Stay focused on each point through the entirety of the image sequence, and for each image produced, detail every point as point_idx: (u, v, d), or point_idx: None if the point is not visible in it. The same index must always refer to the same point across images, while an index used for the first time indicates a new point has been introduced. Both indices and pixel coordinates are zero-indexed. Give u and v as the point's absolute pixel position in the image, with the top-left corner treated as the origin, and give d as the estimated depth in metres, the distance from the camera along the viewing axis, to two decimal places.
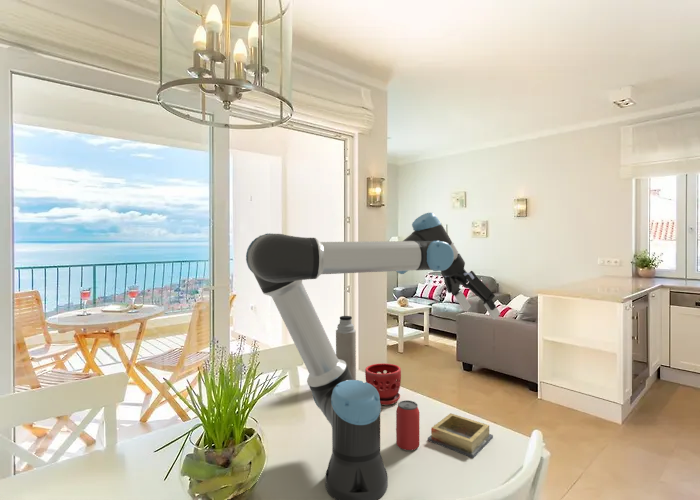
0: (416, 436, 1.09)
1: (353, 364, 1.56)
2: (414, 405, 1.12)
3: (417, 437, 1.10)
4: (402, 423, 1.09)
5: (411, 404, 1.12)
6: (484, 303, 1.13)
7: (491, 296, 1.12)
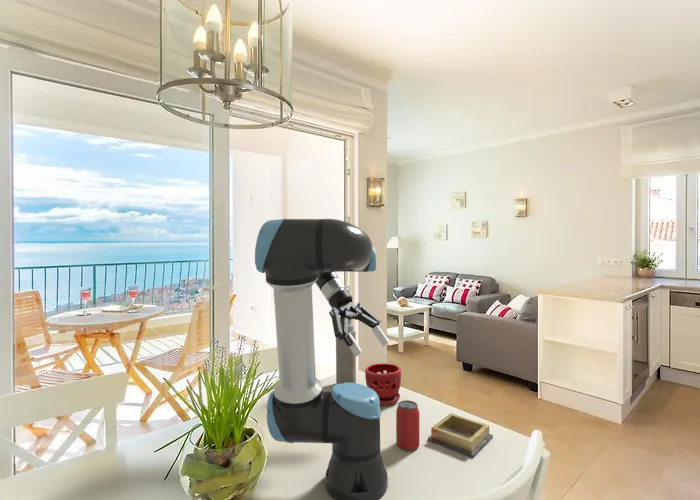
0: (416, 436, 1.09)
1: (353, 364, 1.56)
2: (414, 405, 1.12)
3: (417, 437, 1.10)
4: (402, 423, 1.09)
5: (411, 404, 1.12)
6: (379, 322, 1.28)
7: None
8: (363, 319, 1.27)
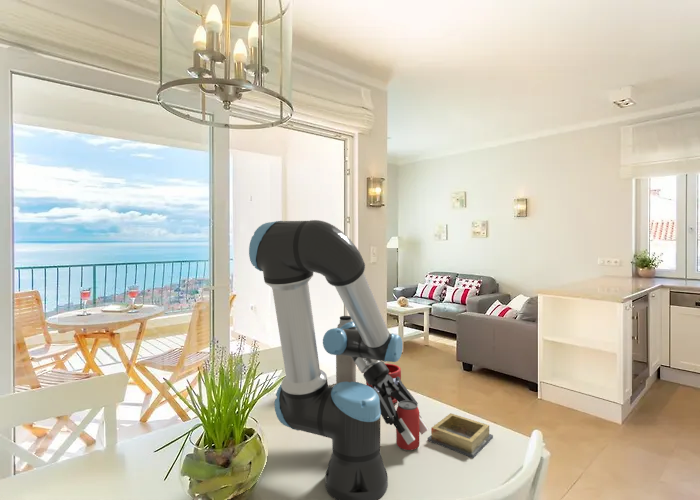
0: (416, 436, 1.09)
1: (353, 364, 1.56)
2: (414, 405, 1.12)
3: (417, 437, 1.10)
4: None
5: (411, 404, 1.12)
6: None
7: None
8: (399, 398, 1.17)
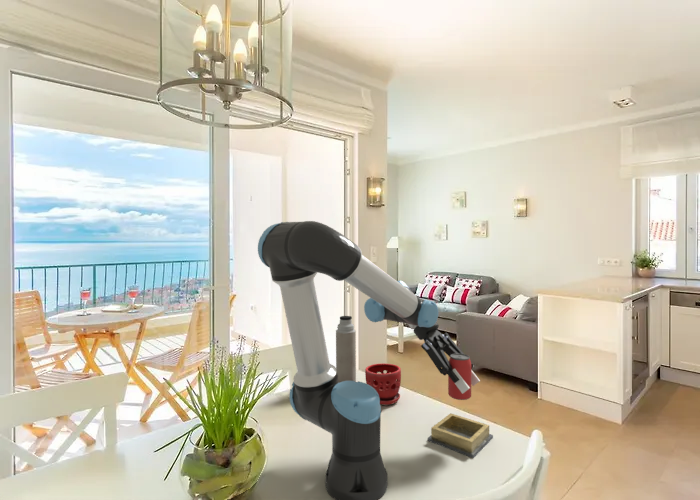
0: (469, 386, 1.13)
1: (353, 364, 1.56)
2: (466, 357, 1.15)
3: (470, 387, 1.13)
4: None
5: (463, 356, 1.15)
6: None
7: None
8: (449, 352, 1.20)
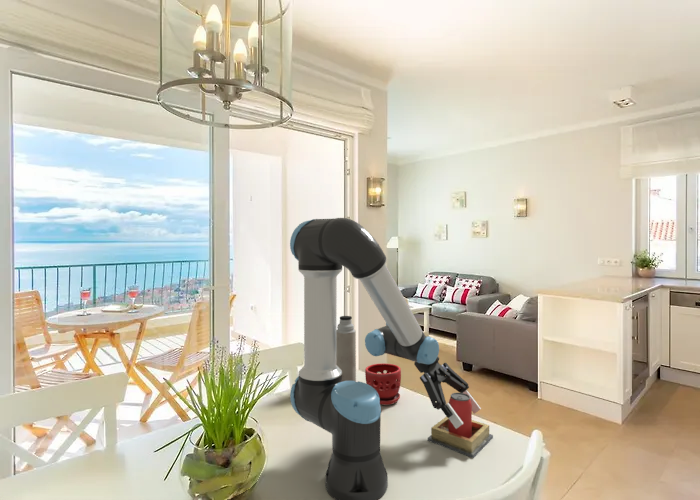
0: (469, 427, 1.13)
1: (353, 364, 1.56)
2: (466, 397, 1.15)
3: (470, 428, 1.13)
4: None
5: (463, 396, 1.16)
6: (468, 386, 1.21)
7: None
8: (451, 382, 1.21)
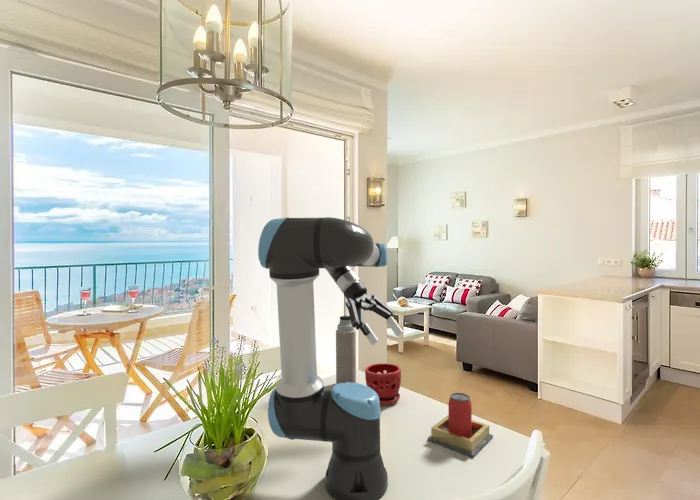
0: (469, 427, 1.13)
1: (353, 364, 1.56)
2: (466, 397, 1.15)
3: (470, 428, 1.13)
4: (455, 415, 1.13)
5: (463, 396, 1.16)
6: (393, 313, 1.33)
7: None
8: (377, 310, 1.32)
